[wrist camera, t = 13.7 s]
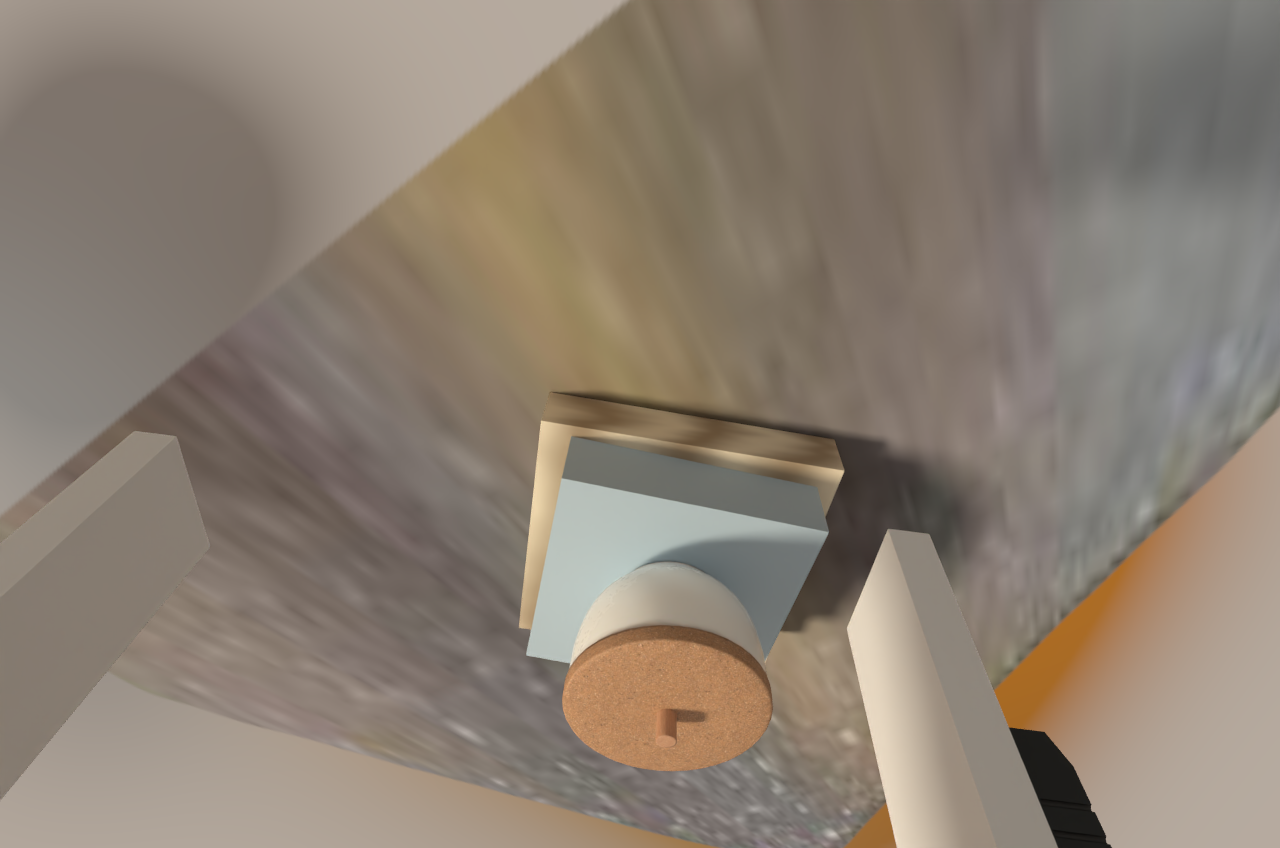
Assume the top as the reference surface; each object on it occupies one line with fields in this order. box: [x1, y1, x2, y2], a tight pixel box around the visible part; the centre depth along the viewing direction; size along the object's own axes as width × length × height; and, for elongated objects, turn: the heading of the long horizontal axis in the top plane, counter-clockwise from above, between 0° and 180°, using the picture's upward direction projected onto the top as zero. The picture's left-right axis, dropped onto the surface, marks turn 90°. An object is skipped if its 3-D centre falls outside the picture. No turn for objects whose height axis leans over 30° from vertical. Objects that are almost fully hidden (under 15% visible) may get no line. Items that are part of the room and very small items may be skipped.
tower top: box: [526, 436, 829, 663], centre depth 44 cm, size 15×15×4 cm
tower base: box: [519, 392, 844, 662], centre depth 48 cm, size 18×18×4 cm
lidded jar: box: [562, 561, 773, 771], centre depth 38 cm, size 11×11×9 cm
